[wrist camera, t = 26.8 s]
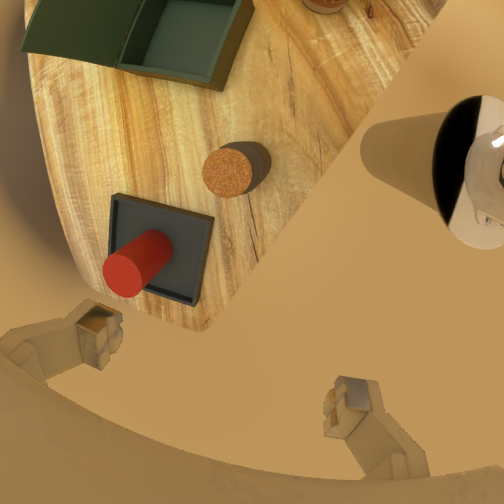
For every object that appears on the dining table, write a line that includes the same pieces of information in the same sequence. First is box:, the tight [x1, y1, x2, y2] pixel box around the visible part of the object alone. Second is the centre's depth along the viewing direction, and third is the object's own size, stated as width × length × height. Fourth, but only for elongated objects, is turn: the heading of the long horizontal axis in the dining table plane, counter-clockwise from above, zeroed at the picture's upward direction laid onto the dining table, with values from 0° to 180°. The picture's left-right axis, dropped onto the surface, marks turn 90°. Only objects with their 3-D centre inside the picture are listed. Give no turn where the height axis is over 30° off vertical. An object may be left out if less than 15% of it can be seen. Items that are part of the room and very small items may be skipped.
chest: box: [114, 0, 255, 92], centre depth 31 cm, size 15×15×7 cm
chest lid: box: [19, 0, 141, 68], centre depth 21 cm, size 15×15×5 cm
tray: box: [108, 193, 214, 307], centre depth 46 cm, size 17×15×2 cm
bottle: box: [203, 142, 271, 198], centre depth 33 cm, size 6×6×15 cm
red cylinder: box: [103, 229, 173, 298], centre depth 42 cm, size 6×6×11 cm
